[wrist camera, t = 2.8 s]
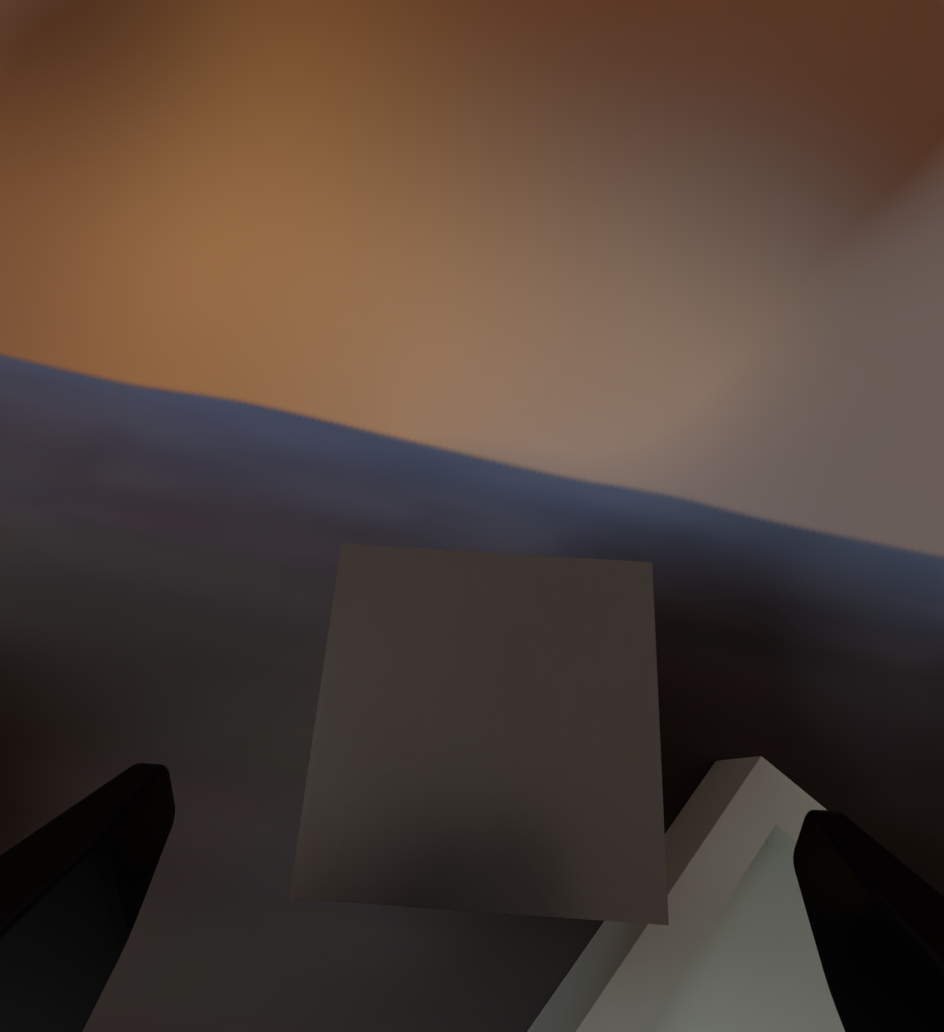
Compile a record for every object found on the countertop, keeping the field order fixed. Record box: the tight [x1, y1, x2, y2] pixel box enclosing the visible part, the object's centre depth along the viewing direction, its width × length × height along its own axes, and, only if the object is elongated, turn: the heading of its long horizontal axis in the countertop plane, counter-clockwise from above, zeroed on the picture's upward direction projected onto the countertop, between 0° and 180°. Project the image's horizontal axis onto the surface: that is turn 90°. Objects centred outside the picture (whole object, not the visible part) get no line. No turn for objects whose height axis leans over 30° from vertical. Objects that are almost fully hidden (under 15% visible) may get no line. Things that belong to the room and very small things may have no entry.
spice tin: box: [289, 544, 669, 925], centre depth 14 cm, size 5×5×9 cm
